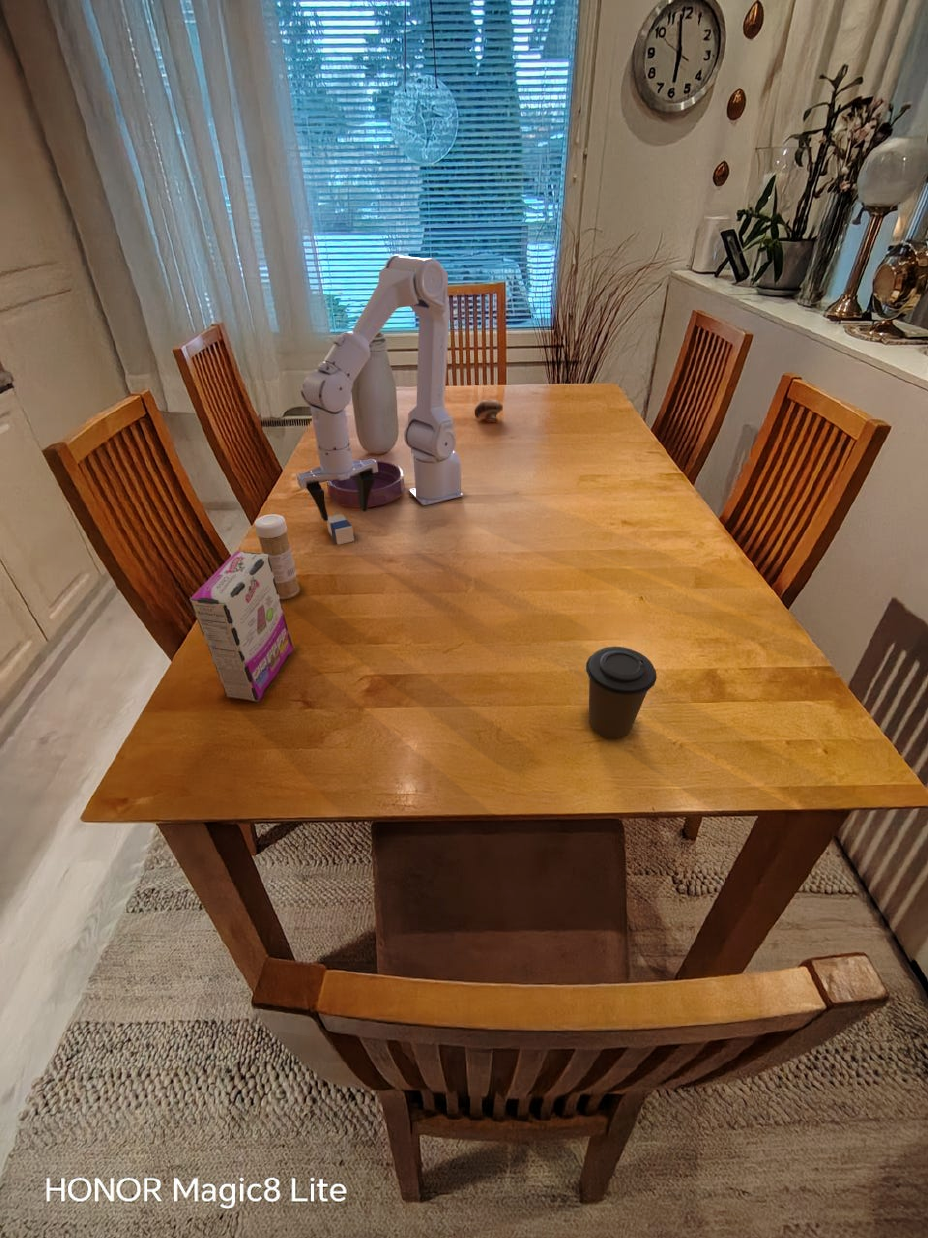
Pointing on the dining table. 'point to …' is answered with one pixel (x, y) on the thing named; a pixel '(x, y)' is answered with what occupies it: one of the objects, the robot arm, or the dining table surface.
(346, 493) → the bowl
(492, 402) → the mushroom
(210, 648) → the candy bar box
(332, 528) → the eraser
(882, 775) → the dining table surface
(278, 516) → the sprinkles bottle
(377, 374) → the white tall rounded piece
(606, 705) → the coffee cup
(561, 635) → the dining table surface
